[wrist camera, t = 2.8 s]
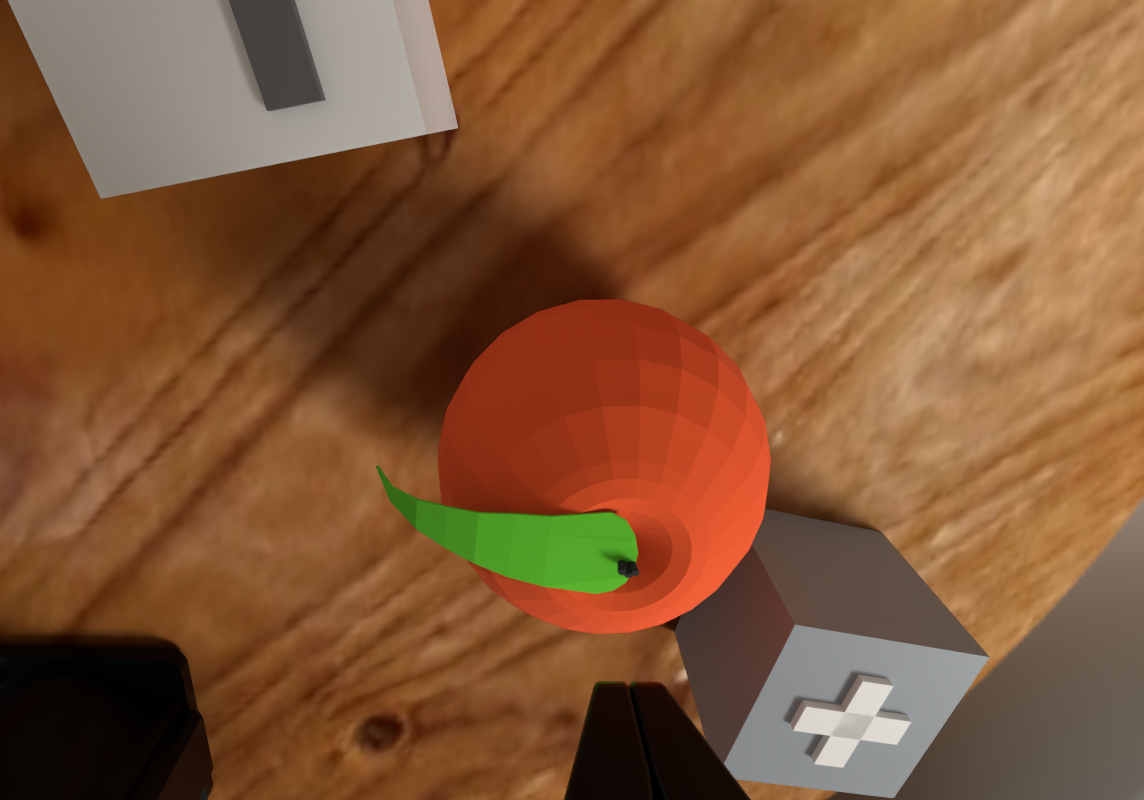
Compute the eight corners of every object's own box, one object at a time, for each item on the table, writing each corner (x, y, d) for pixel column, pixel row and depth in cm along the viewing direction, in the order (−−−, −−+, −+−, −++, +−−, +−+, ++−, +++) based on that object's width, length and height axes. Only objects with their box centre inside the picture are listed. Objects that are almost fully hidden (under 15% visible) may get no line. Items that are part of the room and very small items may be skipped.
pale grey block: (237, 171, 14) (92, 200, 9) (133, -104, 12) (-118, -243, 7) (458, 128, 14) (424, 134, 9) (392, -156, 12) (305, -332, 7)
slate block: (673, 629, 20) (719, 784, 16) (728, 500, 19) (798, 631, 14) (814, 652, 21) (897, 805, 17) (880, 530, 19) (995, 663, 15)
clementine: (409, 496, 18) (342, 716, 11) (417, 244, 15) (334, 342, 8) (688, 516, 19) (776, 730, 12) (744, 283, 16) (896, 397, 9)
